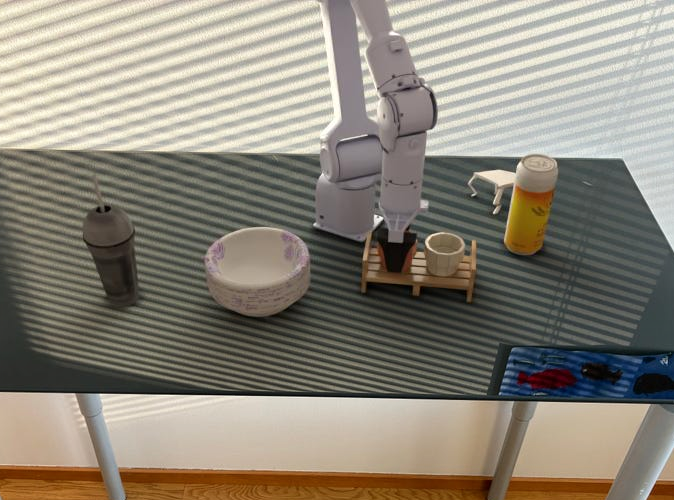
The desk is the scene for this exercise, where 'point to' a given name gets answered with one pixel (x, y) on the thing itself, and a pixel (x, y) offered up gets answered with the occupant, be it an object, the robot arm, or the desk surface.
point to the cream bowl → (443, 253)
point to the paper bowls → (258, 270)
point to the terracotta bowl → (408, 259)
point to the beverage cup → (112, 250)
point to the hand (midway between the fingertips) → (396, 255)
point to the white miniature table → (495, 183)
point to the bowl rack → (418, 272)
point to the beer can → (530, 203)
